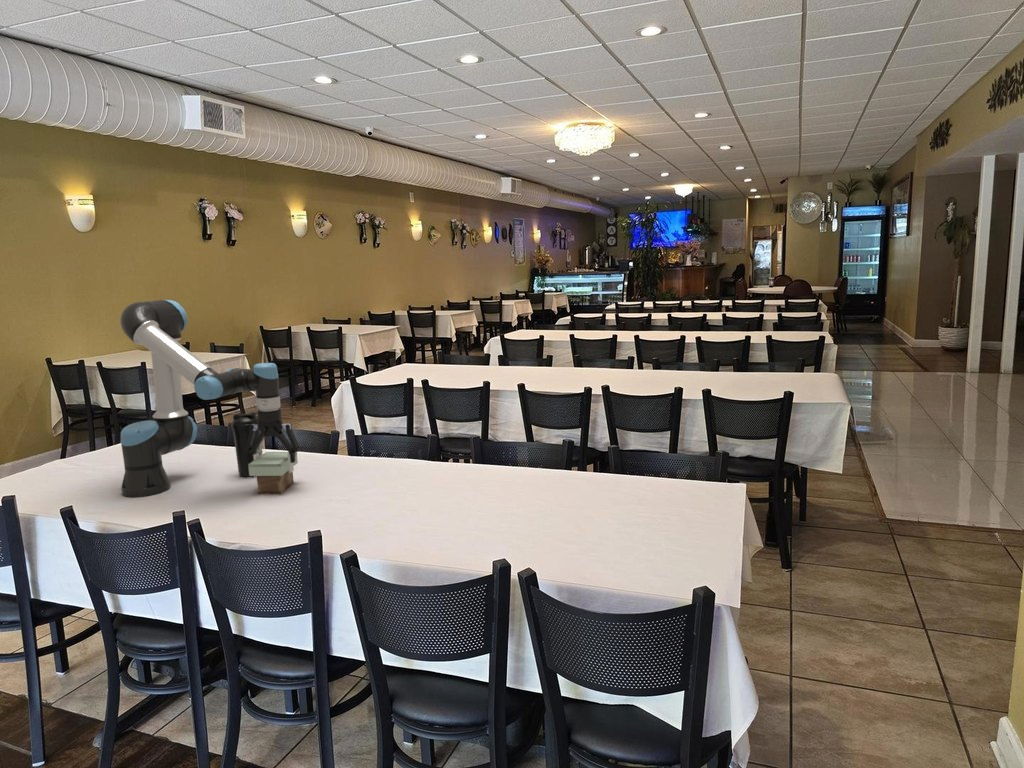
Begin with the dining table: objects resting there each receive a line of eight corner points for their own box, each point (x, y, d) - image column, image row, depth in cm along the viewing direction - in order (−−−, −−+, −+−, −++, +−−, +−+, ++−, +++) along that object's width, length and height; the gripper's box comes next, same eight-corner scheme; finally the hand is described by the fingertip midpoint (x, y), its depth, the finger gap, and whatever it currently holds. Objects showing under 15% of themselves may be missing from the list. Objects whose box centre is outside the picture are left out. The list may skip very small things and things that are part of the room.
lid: (281, 475, 236) (280, 464, 235) (249, 475, 236) (248, 464, 235) (297, 462, 250) (296, 451, 250) (267, 463, 251) (266, 452, 250)
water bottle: (260, 478, 257) (254, 416, 253) (232, 479, 257) (225, 416, 253) (270, 470, 267) (264, 410, 263) (243, 470, 267) (237, 410, 263)
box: (281, 493, 238) (278, 467, 237) (258, 494, 239) (255, 468, 237) (293, 482, 250) (291, 458, 248) (271, 483, 250) (269, 458, 249)
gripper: (230, 411, 237) (236, 475, 240) (299, 411, 235) (304, 474, 239) (239, 407, 244) (245, 468, 248) (307, 406, 243) (311, 468, 246)
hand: (274, 471), depth 243 cm, fingers closed on lid, 11 cm apart
